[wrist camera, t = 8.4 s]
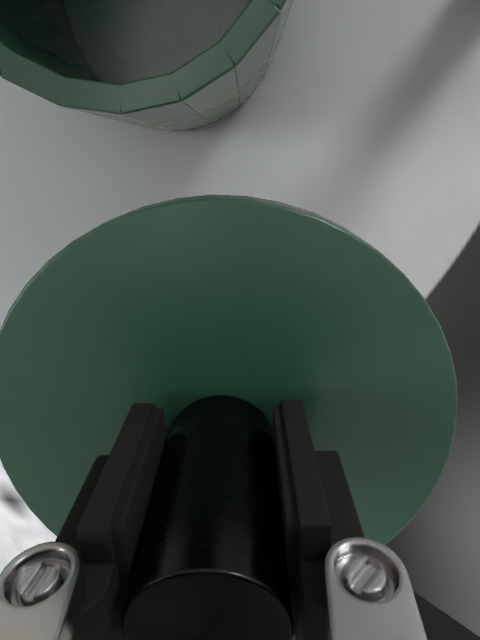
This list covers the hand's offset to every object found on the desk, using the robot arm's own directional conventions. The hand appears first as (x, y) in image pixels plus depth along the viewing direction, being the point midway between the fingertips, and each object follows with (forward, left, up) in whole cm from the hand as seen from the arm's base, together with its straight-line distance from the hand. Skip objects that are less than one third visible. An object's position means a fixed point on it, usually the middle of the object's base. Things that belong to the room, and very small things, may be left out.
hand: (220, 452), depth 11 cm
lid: (0, 0, -2) cm, 2 cm away
